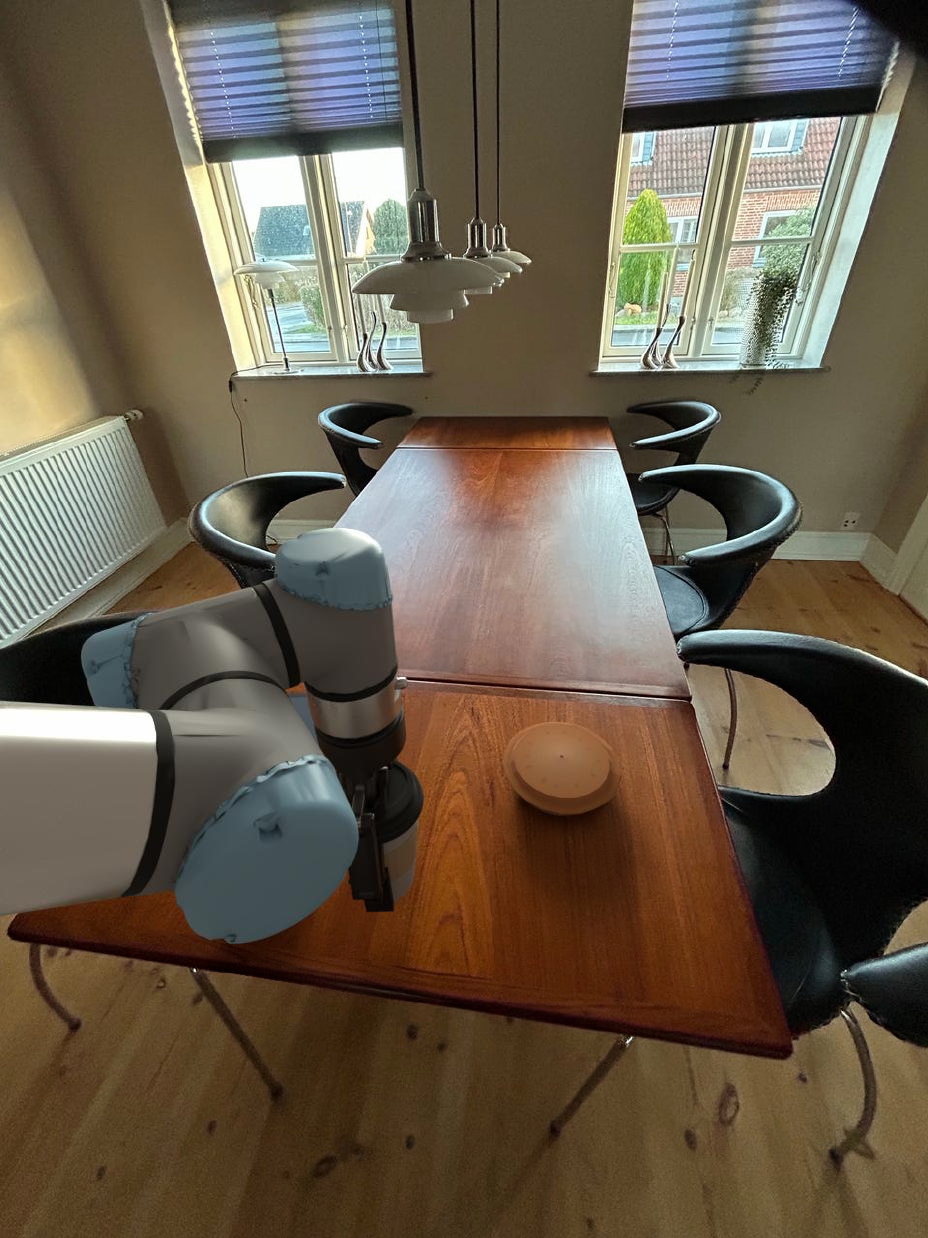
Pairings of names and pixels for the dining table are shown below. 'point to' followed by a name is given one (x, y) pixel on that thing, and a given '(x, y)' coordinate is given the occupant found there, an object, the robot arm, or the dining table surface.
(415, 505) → the dining table surface
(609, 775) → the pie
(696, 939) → the dining table surface
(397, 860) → the coffee cup
